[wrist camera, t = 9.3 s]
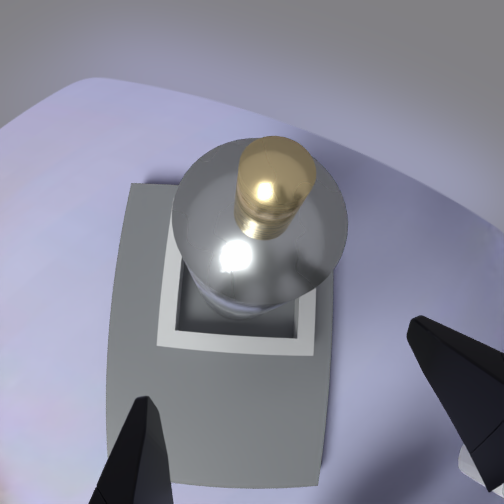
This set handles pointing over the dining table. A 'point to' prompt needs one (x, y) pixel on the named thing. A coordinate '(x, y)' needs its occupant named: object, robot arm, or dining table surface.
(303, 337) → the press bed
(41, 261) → the dining table surface
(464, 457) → the shot glass
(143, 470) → the robot arm
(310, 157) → the gold-capped silver bottle
